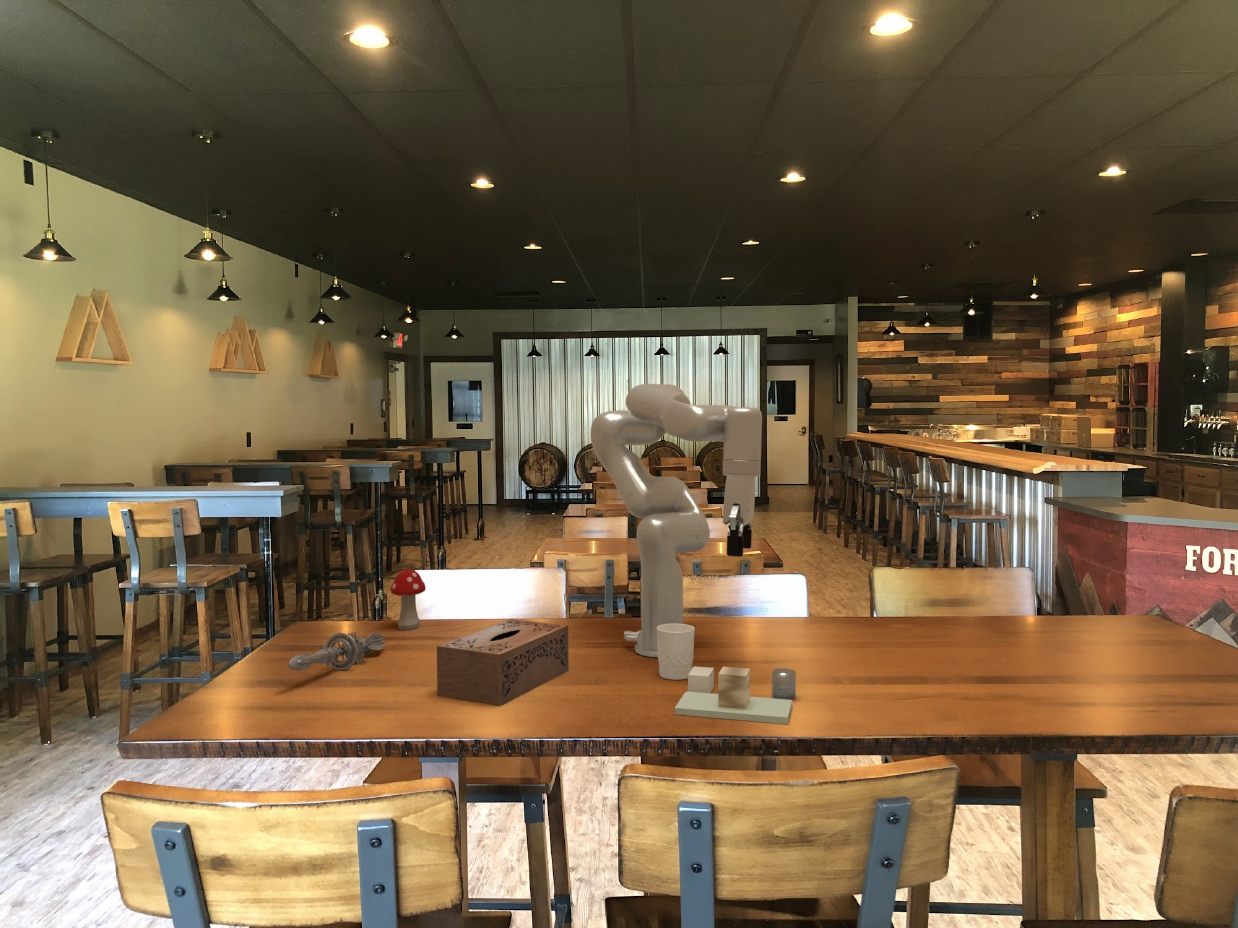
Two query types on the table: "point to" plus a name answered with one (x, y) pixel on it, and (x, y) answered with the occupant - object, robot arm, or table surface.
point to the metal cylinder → (784, 684)
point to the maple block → (734, 687)
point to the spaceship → (340, 651)
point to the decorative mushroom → (408, 597)
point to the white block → (701, 680)
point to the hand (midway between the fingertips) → (739, 551)
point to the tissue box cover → (502, 661)
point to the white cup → (675, 650)
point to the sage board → (755, 711)
